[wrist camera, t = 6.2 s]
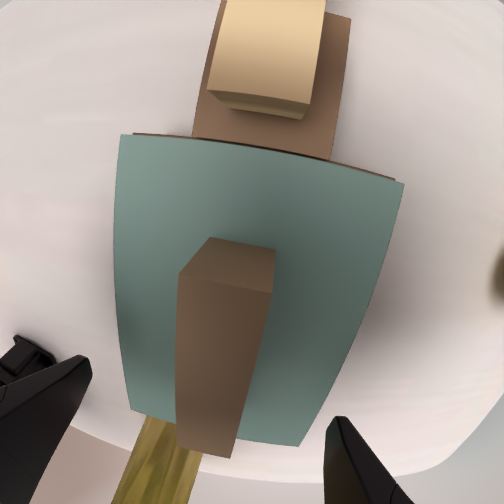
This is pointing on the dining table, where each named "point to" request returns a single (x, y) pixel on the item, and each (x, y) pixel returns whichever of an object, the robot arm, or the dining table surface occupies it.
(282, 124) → the brown box
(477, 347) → the dining table surface
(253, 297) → the lid
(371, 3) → the dining table surface
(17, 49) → the dining table surface
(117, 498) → the vase
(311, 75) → the tan rectangular bar
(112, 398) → the dining table surface
